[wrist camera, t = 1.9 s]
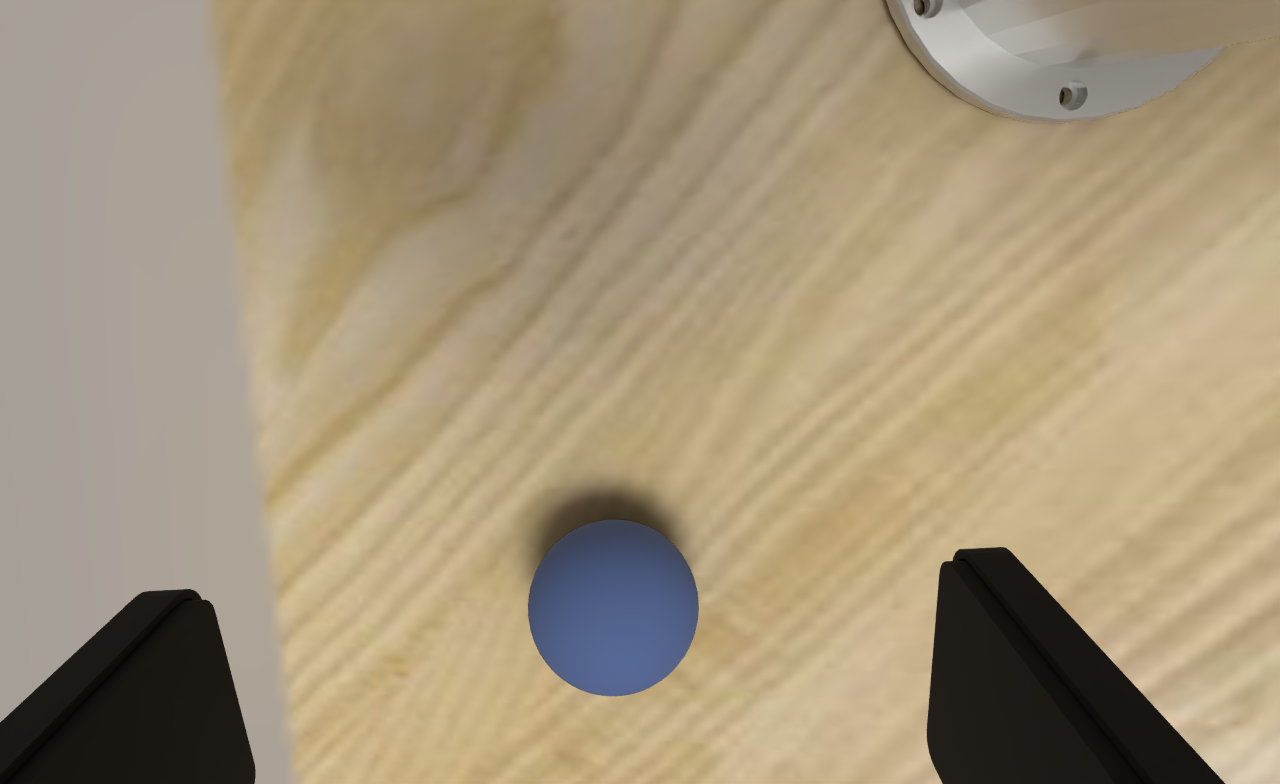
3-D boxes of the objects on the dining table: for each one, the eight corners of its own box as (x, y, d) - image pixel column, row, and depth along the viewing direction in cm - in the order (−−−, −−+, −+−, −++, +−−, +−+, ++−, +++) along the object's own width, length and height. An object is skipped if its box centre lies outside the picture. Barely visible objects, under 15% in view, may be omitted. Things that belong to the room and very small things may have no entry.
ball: (532, 494, 29) (509, 580, 24) (690, 488, 29) (706, 572, 24) (543, 629, 31) (524, 739, 25) (692, 624, 31) (707, 732, 25)
